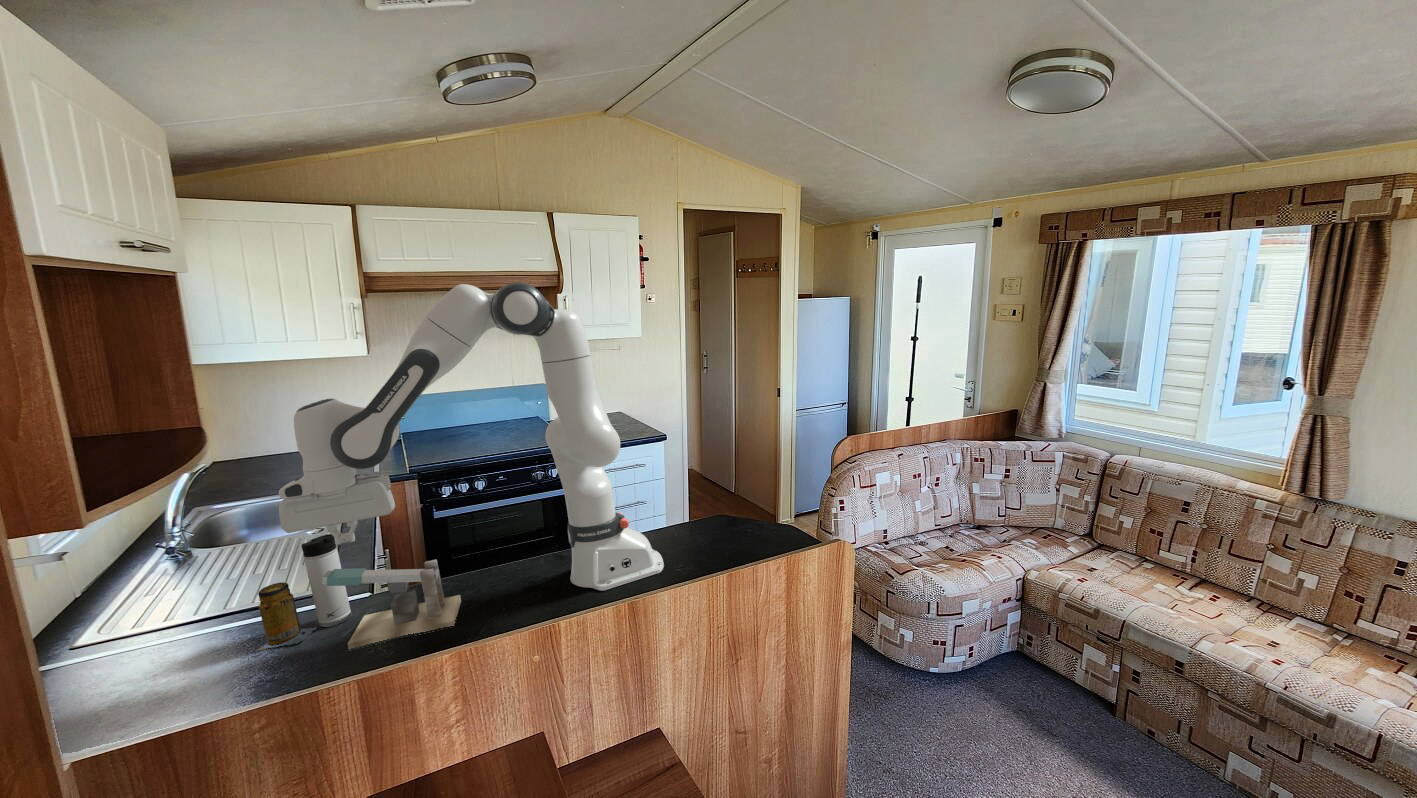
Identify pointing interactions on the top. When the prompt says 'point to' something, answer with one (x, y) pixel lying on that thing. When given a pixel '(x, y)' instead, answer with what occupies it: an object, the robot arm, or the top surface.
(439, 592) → the press base
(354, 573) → the press lever
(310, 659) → the top surface
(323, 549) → the travel mug
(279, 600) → the condiment
